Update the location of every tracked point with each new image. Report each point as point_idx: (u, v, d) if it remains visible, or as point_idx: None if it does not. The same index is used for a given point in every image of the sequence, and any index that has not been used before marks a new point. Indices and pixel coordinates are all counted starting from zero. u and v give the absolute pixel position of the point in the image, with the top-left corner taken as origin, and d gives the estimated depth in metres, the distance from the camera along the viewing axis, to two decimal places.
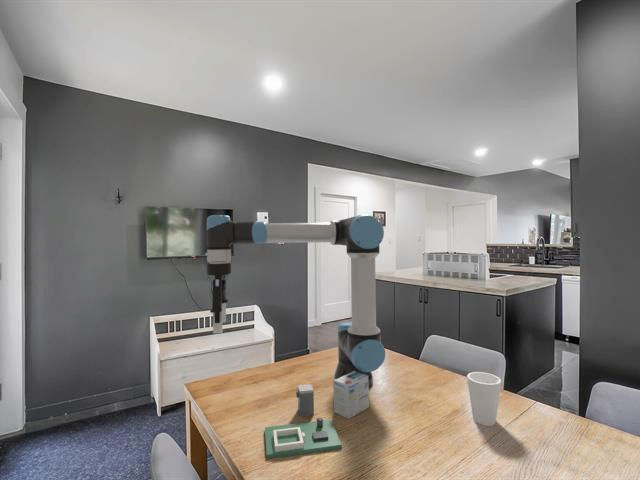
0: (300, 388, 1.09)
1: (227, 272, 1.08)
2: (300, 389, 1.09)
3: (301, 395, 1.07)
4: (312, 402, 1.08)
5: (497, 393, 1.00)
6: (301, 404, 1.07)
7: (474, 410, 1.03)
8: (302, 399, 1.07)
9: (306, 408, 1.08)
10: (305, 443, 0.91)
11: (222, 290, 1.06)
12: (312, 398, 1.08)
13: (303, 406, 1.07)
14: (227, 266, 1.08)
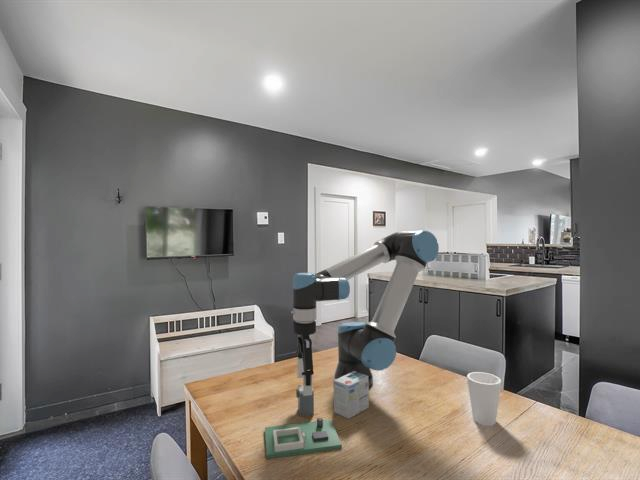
0: (300, 388, 1.09)
1: (314, 331, 1.08)
2: (300, 389, 1.09)
3: (301, 395, 1.07)
4: (312, 402, 1.08)
5: (497, 393, 1.00)
6: (301, 404, 1.07)
7: (474, 410, 1.03)
8: (302, 399, 1.07)
9: (306, 408, 1.08)
10: (305, 443, 0.91)
11: None
12: (312, 398, 1.08)
13: (303, 406, 1.07)
14: (314, 325, 1.08)
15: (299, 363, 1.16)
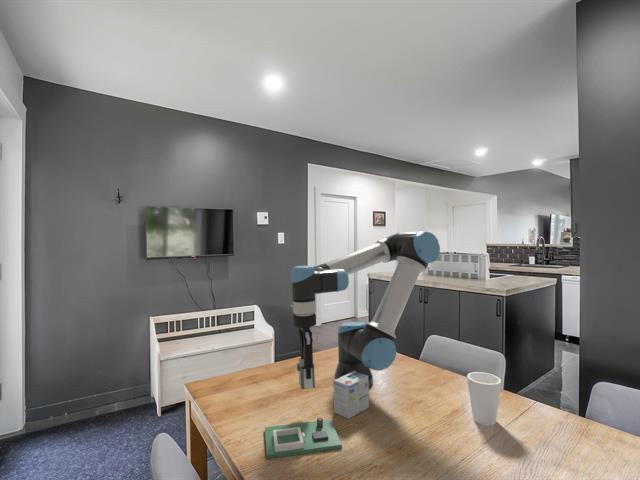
0: (301, 361, 1.09)
1: (314, 323, 1.08)
2: (301, 362, 1.09)
3: None
4: (313, 375, 1.08)
5: (497, 393, 1.00)
6: (302, 377, 1.08)
7: (474, 410, 1.03)
8: (303, 372, 1.08)
9: None
10: (305, 443, 0.91)
11: None
12: (313, 371, 1.08)
13: (303, 379, 1.08)
14: (314, 318, 1.08)
15: None
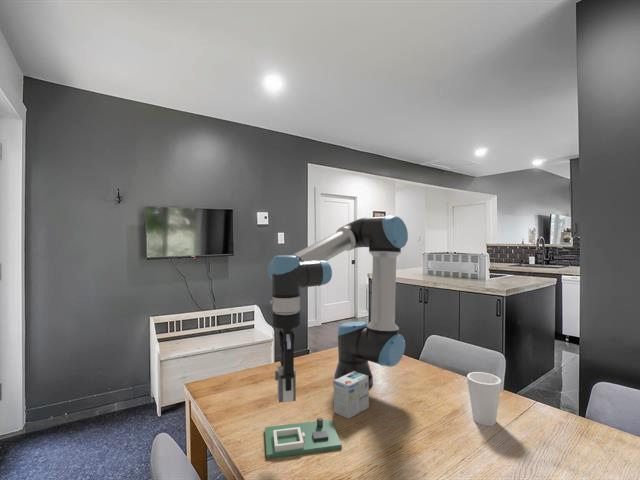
0: (280, 369, 0.92)
1: (297, 324, 0.90)
2: (280, 370, 0.91)
3: None
4: (294, 386, 0.90)
5: (497, 393, 1.00)
6: (281, 388, 0.90)
7: (474, 410, 1.03)
8: (282, 382, 0.90)
9: None
10: (305, 443, 0.91)
11: None
12: (294, 381, 0.90)
13: (282, 390, 0.90)
14: (297, 317, 0.90)
15: None
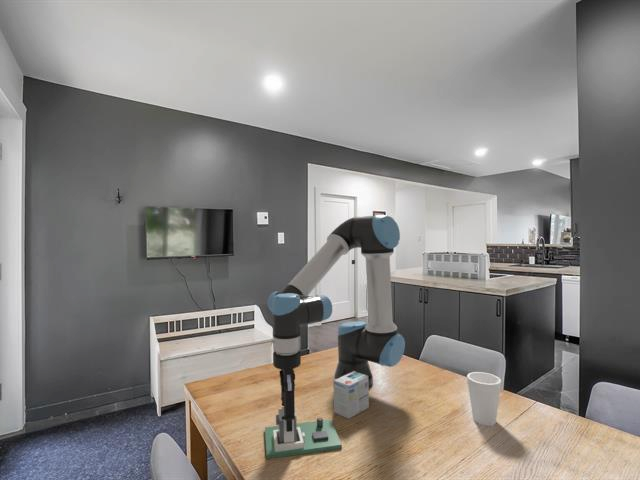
0: (281, 413, 0.92)
1: (298, 364, 0.90)
2: (280, 415, 0.91)
3: (281, 422, 0.90)
4: (295, 430, 0.90)
5: (497, 393, 1.00)
6: (282, 433, 0.90)
7: (474, 410, 1.03)
8: (283, 427, 0.90)
9: None
10: (305, 443, 0.91)
11: None
12: (295, 426, 0.90)
13: (283, 435, 0.90)
14: (298, 357, 0.90)
15: None
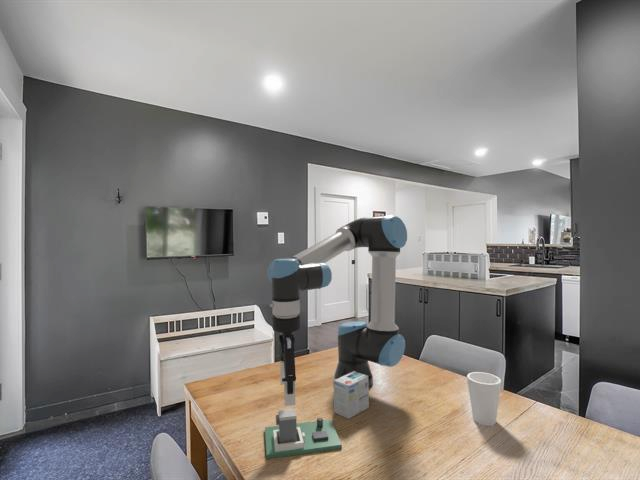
0: (281, 413, 0.92)
1: (297, 328, 0.90)
2: (280, 415, 0.91)
3: (281, 422, 0.90)
4: (295, 430, 0.90)
5: (497, 393, 1.00)
6: (282, 433, 0.90)
7: (474, 410, 1.03)
8: (283, 427, 0.90)
9: (287, 438, 0.90)
10: (305, 443, 0.91)
11: None
12: (295, 426, 0.90)
13: (283, 435, 0.90)
14: (297, 321, 0.90)
15: (282, 367, 0.98)
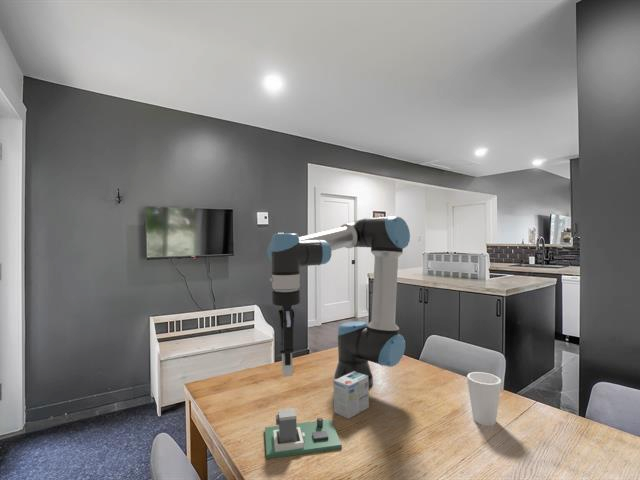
0: (281, 413, 0.92)
1: (297, 302, 0.90)
2: (280, 415, 0.91)
3: (281, 422, 0.90)
4: (295, 430, 0.90)
5: (497, 393, 1.00)
6: (282, 433, 0.90)
7: (474, 410, 1.03)
8: (283, 427, 0.90)
9: (287, 438, 0.90)
10: (305, 443, 0.91)
11: None
12: (295, 426, 0.90)
13: (283, 435, 0.90)
14: (297, 295, 0.90)
15: None
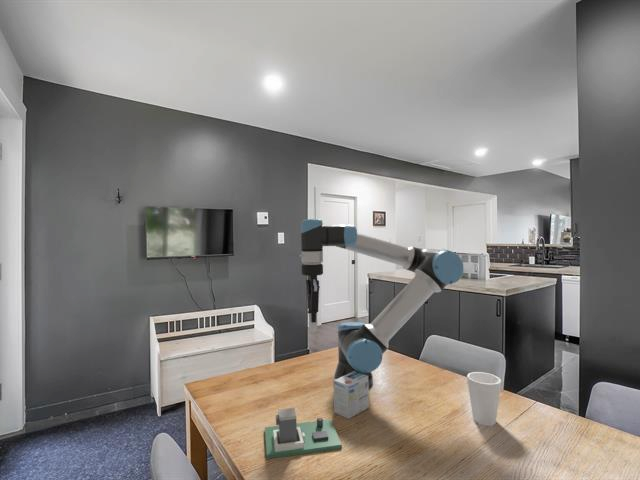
0: (281, 413, 0.92)
1: (321, 272, 1.16)
2: (280, 415, 0.91)
3: (281, 422, 0.90)
4: (295, 430, 0.90)
5: (497, 393, 1.00)
6: (282, 433, 0.90)
7: (474, 410, 1.03)
8: (283, 427, 0.90)
9: (287, 438, 0.90)
10: (305, 443, 0.91)
11: None
12: (295, 426, 0.90)
13: (283, 435, 0.90)
14: (321, 267, 1.16)
15: None
